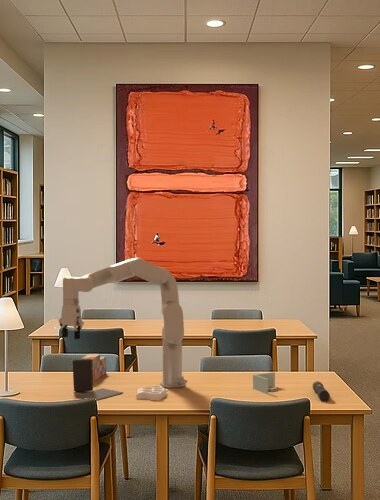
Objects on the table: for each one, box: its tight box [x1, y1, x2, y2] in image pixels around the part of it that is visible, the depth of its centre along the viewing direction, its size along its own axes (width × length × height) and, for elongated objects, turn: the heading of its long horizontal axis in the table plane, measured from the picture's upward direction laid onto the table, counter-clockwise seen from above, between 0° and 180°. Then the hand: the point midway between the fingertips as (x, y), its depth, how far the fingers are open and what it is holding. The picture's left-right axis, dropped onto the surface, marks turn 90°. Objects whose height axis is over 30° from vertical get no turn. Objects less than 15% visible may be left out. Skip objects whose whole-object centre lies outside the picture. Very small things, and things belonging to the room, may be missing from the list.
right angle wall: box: [252, 371, 278, 395], centre depth 359 cm, size 12×12×8 cm
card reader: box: [72, 359, 94, 393], centre depth 358 cm, size 9×4×15 cm, turn 84°
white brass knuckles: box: [135, 384, 169, 401], centre depth 349 cm, size 3×18×15 cm
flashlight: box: [311, 381, 331, 402], centre depth 347 cm, size 5×22×5 cm, turn 179°
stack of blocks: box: [80, 353, 107, 383], centre depth 390 cm, size 21×6×12 cm, turn 168°
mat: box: [74, 388, 124, 402], centre depth 351 cm, size 14×18×1 cm
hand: (71, 337), depth 362 cm, fingers open, 8 cm apart
